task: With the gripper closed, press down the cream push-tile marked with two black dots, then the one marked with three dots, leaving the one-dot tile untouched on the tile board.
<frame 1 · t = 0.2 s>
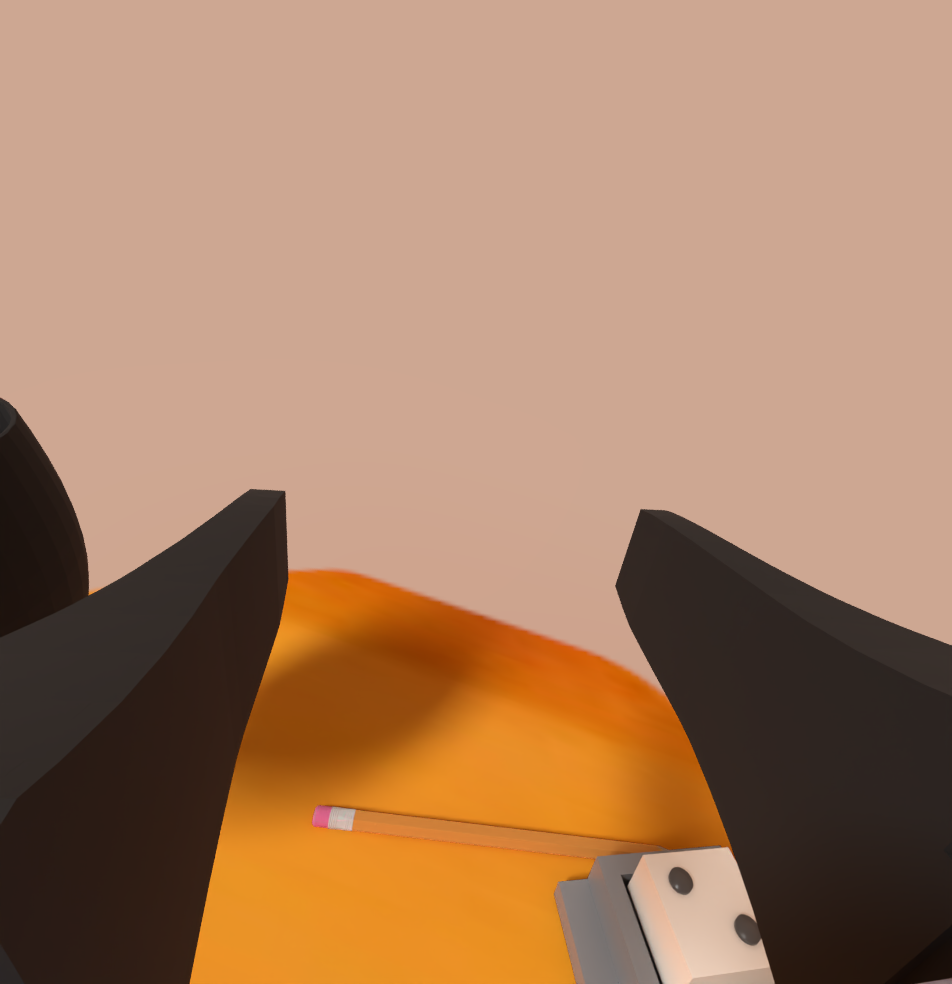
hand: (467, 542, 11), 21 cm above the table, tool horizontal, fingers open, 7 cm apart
wine glass: (2, 883, 22), on the table
pencil: (502, 845, 26), on the table
tile two: (702, 920, 21), point 4 cm above the table, slide at 0.0 cm
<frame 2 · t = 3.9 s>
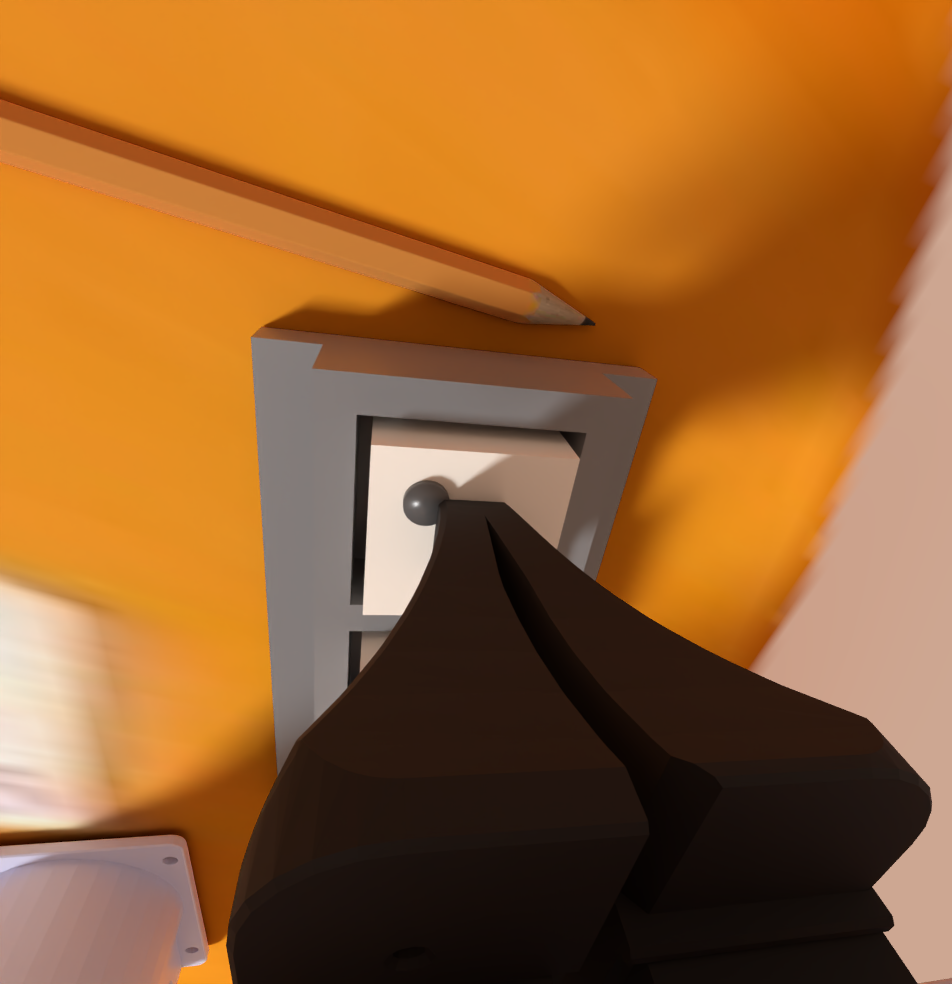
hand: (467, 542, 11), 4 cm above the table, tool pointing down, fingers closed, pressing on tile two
pencil: (161, 180, 10), on the table
tile one: (438, 726, 13), point 4 cm above the table, slide at 0.0 cm
tile two: (459, 513, 12), point 2 cm above the table, slide at 1.3 cm, touching gripper
tile board: (429, 622, 16), on the table
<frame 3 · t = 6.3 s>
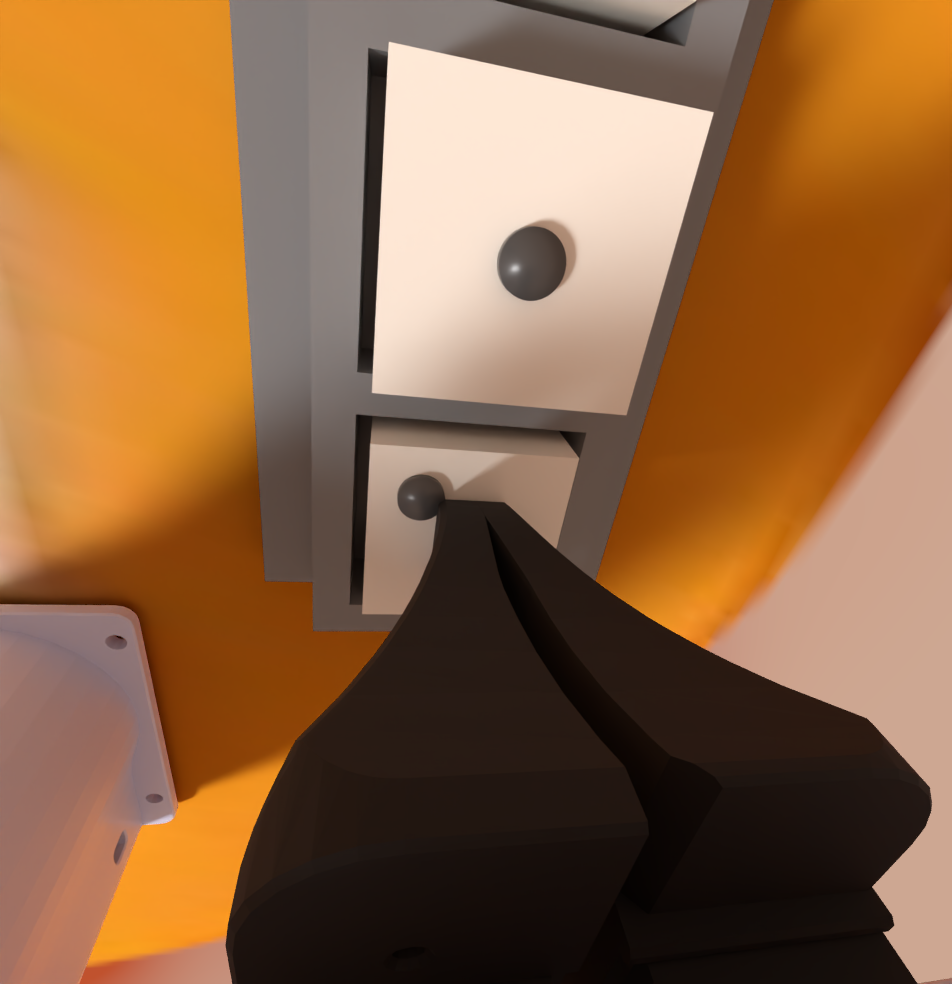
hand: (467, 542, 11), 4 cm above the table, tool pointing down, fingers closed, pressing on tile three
tile one: (512, 256, 8), point 4 cm above the table, slide at 0.0 cm
tile three: (458, 512, 12), point 2 cm above the table, slide at 1.4 cm, touching gripper
tile board: (477, 240, 11), on the table
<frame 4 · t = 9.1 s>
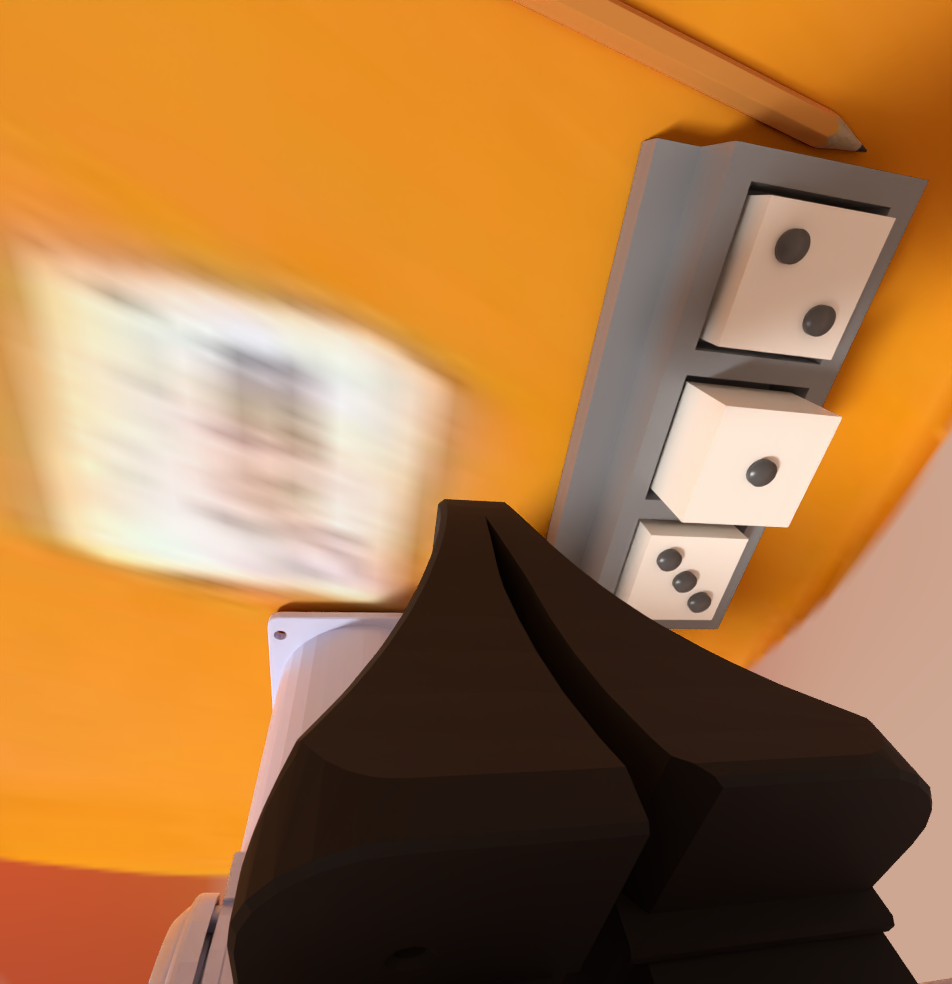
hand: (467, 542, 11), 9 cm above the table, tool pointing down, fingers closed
pencil: (598, 28, 15), on the table
tile one: (739, 456, 17), point 4 cm above the table, slide at 0.0 cm
tile two: (779, 279, 16), point 2 cm above the table, slide at 1.4 cm
tile three: (670, 563, 21), point 2 cm above the table, slide at 1.4 cm
tile board: (685, 417, 21), on the table
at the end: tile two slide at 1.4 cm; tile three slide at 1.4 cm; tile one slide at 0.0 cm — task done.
